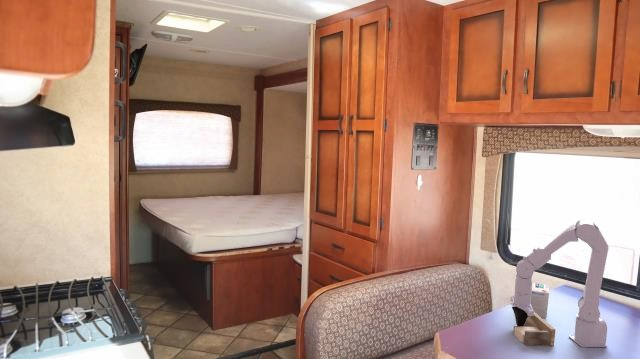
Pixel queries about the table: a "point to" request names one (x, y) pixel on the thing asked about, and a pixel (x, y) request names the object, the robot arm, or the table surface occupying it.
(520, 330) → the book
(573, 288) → the table surface
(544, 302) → the light bulb box
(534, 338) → the shelf
